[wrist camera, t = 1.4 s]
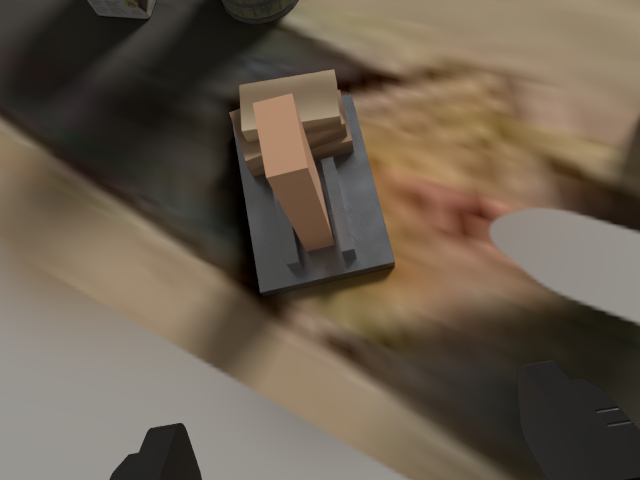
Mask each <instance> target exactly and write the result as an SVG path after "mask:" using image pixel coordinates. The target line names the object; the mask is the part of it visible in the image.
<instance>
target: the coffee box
mask: <svg viewBox="0 0 640 480" xmlns="http://www.w3.org/2000/svg"><path fill="white" fill-rule="evenodd" d="M87 1H88V2H89V3H90V5H91V6H92V7H93V9H94V10H95V12H96V13H97V14H98V15H99V16H111V17H126V18H140V19H148V18H150V16H151V13H152V11H153V8H154V5H155V2H156V0H87Z"/></svg>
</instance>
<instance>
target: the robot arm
mask: <svg viewBox="0 0 640 480" xmlns="http://www.w3.org/2000/svg"><path fill="white" fill-rule="evenodd" d="M517 377H518V394H519V411H520V422H521V427H522V431H523V434H524V437H525V440H526V442H527V445H528V447H529V448H530V450H531V452H532V454H533V455H534V457H535V459H536V460H537V462H538V464H539V466H540V467H541V469H542V471H543V472H544V474H545V476H546V478H547V479H548V480H640V430H639V429H638V428H637V427H636V426H635V425H634V424H633V423H631V422H630V419H629V418H628V417H627V416H626V415H625V414H624V412H623V411H622V410H621V409H620V410H619V409H618V406H617V405H616V404H615V403H614V401H613V400H612V399H611V398H610V397H609V396H608V395H607V394H606V393H605V392H604V390H602V389H601V388H599V387H597V386H595V385H593V384H592V383H590V382H588V381H586V380H585V379H583V378H577V379H571V380H569V378H568V377H567V376H566V375H565V374H564V372H563V371H562V370H561V369H560V368H559V366H558V365H557V364H556V363H555V362H554V361H553V360H547V361H541V362H535V363H530V364H524V365H519V366H518V370H517ZM110 480H202V478H201V473H200V470H199V467H198V464H197V460H196V457H195V454H194V451H193V449H192V445H191V442H190V439H189V436H188V433H187V430H186V428H185V426H184V425H183V424H182V423H177V424H172V425H166V426H160V427H154V428H150V429H149V430H148V432H147V434H146V436H145V439H144V441H143V443H142V446H141V448H140V451H139V453H135V454H129V455H128V456H127V457H126V458H125V459H124V461H123V462H122V463H121V464H120V465H119V466H118V467H117V468H116V470H115V471H114V472H113V473H112V475H111V478H110Z"/></svg>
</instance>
